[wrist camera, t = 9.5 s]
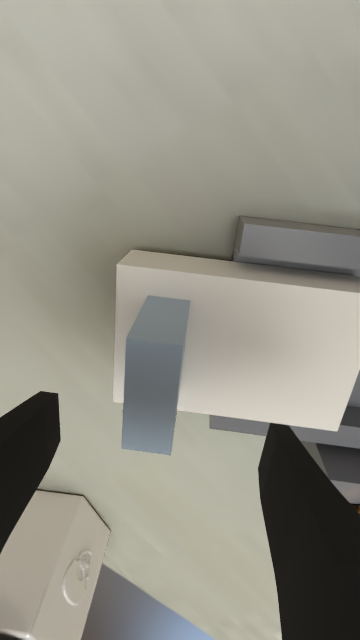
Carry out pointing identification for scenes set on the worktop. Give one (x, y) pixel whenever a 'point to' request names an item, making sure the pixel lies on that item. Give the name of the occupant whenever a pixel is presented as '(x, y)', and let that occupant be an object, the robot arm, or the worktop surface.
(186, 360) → the white blue stepped block
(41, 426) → the robot arm
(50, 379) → the worktop surface
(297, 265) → the housing
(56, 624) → the jar
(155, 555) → the worktop surface
